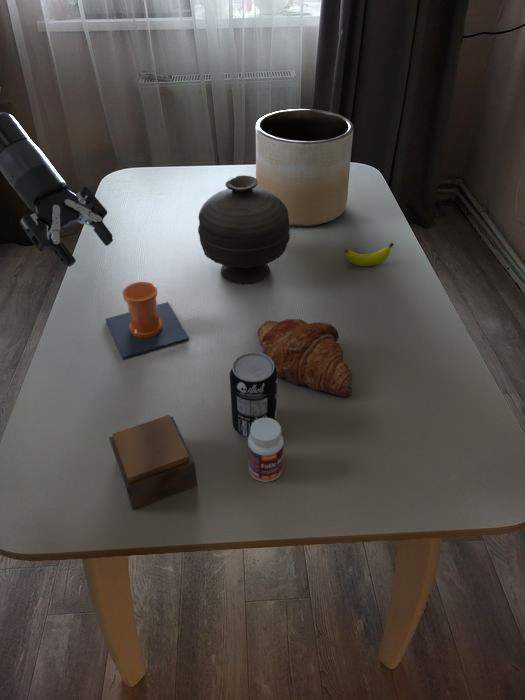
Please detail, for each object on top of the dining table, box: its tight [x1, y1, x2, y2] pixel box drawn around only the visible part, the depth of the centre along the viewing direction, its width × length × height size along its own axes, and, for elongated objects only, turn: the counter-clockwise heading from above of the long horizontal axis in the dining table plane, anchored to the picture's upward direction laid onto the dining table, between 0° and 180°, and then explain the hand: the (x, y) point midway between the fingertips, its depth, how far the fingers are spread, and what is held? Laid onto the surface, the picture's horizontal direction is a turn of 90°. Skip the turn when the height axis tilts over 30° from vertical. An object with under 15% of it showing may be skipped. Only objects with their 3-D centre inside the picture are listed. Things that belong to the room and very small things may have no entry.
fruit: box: [344, 242, 395, 267], centre depth 115 cm, size 10×2×5 cm, turn 97°
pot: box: [197, 174, 291, 286], centre depth 109 cm, size 18×18×20 cm
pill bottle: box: [247, 418, 285, 483], centre depth 74 cm, size 5×5×8 cm
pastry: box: [256, 318, 353, 398], centre depth 91 cm, size 17×15×8 cm
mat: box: [105, 301, 190, 360], centre depth 100 cm, size 12×12×1 cm
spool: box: [122, 281, 163, 338], centre depth 98 cm, size 6×6×8 cm
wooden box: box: [108, 414, 198, 511], centre depth 75 cm, size 9×9×6 cm
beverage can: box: [229, 351, 278, 439], centre depth 79 cm, size 7×7×12 cm
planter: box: [255, 108, 354, 227], centre depth 130 cm, size 22×22×20 cm
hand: (92, 253), depth 97 cm, fingers open, 8 cm apart
